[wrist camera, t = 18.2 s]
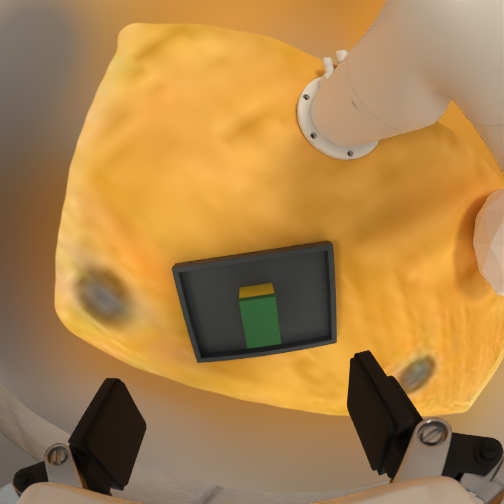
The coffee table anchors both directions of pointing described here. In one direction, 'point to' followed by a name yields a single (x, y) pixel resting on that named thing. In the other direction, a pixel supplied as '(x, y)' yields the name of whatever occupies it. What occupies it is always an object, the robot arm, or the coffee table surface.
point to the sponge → (259, 315)
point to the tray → (254, 273)
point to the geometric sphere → (491, 241)
